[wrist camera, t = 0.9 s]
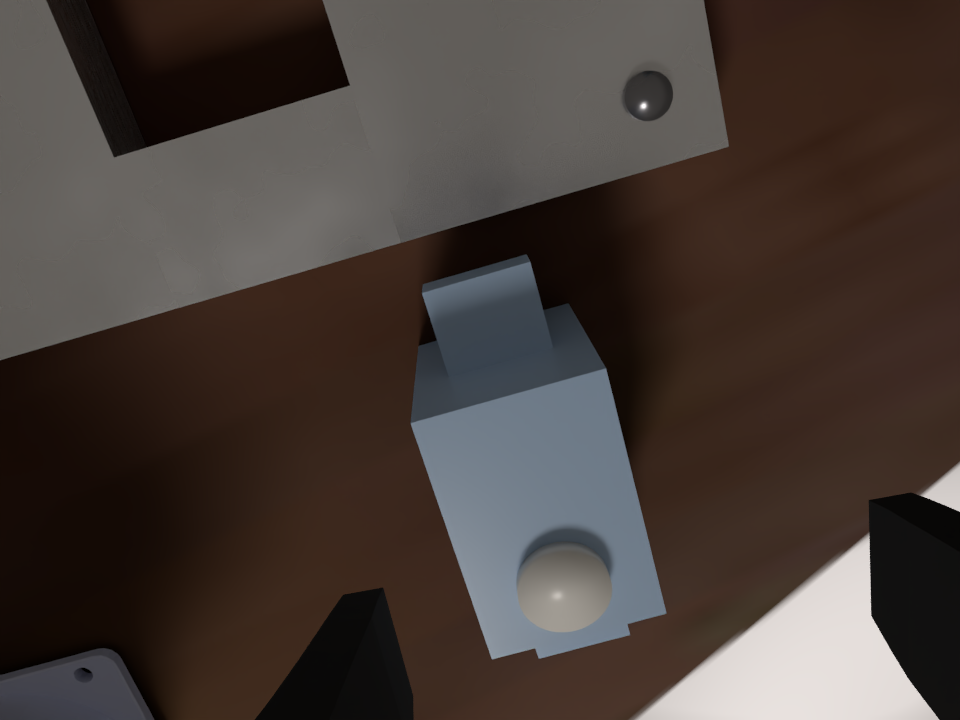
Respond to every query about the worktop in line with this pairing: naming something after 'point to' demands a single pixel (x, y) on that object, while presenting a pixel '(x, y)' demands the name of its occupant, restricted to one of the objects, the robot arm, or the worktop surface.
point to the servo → (530, 466)
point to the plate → (325, 148)
